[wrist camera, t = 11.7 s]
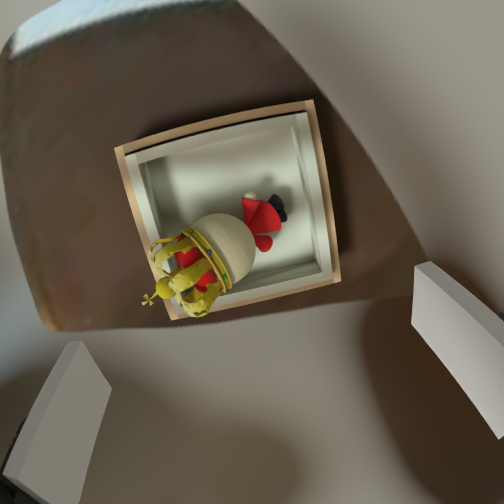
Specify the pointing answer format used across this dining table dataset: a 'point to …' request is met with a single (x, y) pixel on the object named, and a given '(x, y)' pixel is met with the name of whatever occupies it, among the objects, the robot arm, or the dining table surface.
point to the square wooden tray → (239, 194)
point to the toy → (215, 253)
